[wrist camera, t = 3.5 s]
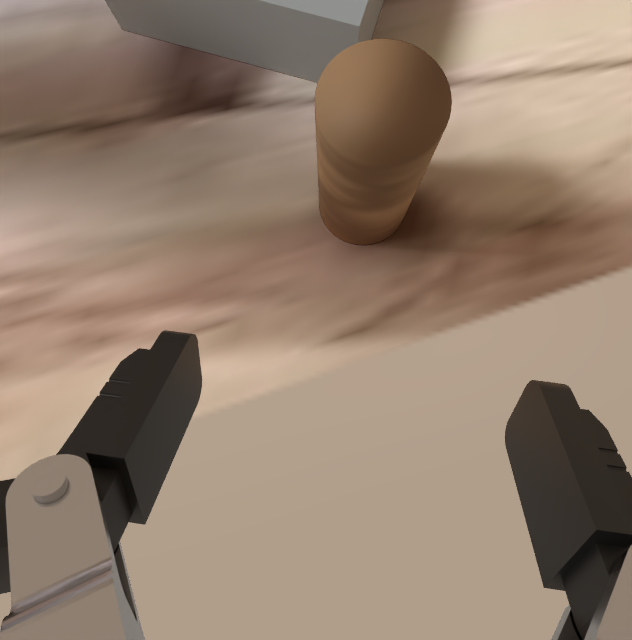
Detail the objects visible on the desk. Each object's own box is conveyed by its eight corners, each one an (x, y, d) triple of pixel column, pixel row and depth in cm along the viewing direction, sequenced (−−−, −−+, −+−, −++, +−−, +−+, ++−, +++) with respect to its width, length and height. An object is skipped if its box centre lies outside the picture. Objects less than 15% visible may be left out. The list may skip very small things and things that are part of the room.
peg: (308, 231, 26) (297, 143, 16) (333, 152, 26) (337, 24, 17) (392, 255, 25) (430, 180, 16) (416, 175, 26) (466, 58, 16)
